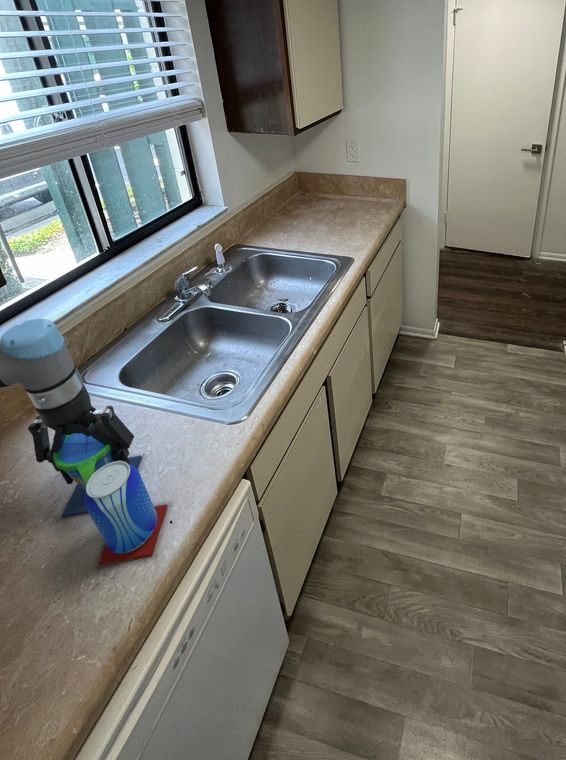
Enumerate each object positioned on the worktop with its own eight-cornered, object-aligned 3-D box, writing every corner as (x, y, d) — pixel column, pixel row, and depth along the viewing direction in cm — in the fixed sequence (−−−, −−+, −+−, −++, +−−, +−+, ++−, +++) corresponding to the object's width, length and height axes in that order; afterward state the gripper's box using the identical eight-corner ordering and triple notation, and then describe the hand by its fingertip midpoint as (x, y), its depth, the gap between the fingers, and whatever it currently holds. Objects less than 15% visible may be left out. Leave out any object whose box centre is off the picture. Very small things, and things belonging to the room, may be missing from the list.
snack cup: (128, 495, 87) (112, 461, 82) (65, 521, 82) (44, 487, 78) (132, 434, 99) (118, 402, 95) (77, 454, 95) (60, 422, 90)
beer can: (162, 538, 82) (138, 484, 75) (109, 567, 77) (79, 513, 70) (156, 501, 88) (133, 447, 81) (107, 526, 84) (79, 472, 77)
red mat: (98, 565, 78) (97, 564, 78) (119, 514, 86) (118, 512, 86) (152, 555, 80) (151, 553, 79) (167, 506, 88) (166, 504, 87)
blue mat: (62, 517, 86) (61, 515, 86) (88, 465, 96) (87, 463, 95) (122, 506, 88) (121, 505, 87) (142, 457, 97) (141, 455, 97)
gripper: (-22, 421, 75) (29, 501, 85) (116, 402, 79) (150, 481, 88) (6, 388, 82) (50, 466, 92) (132, 371, 85) (162, 448, 95)
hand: (99, 473), depth 90 cm, fingers closed on snack cup, 9 cm apart
